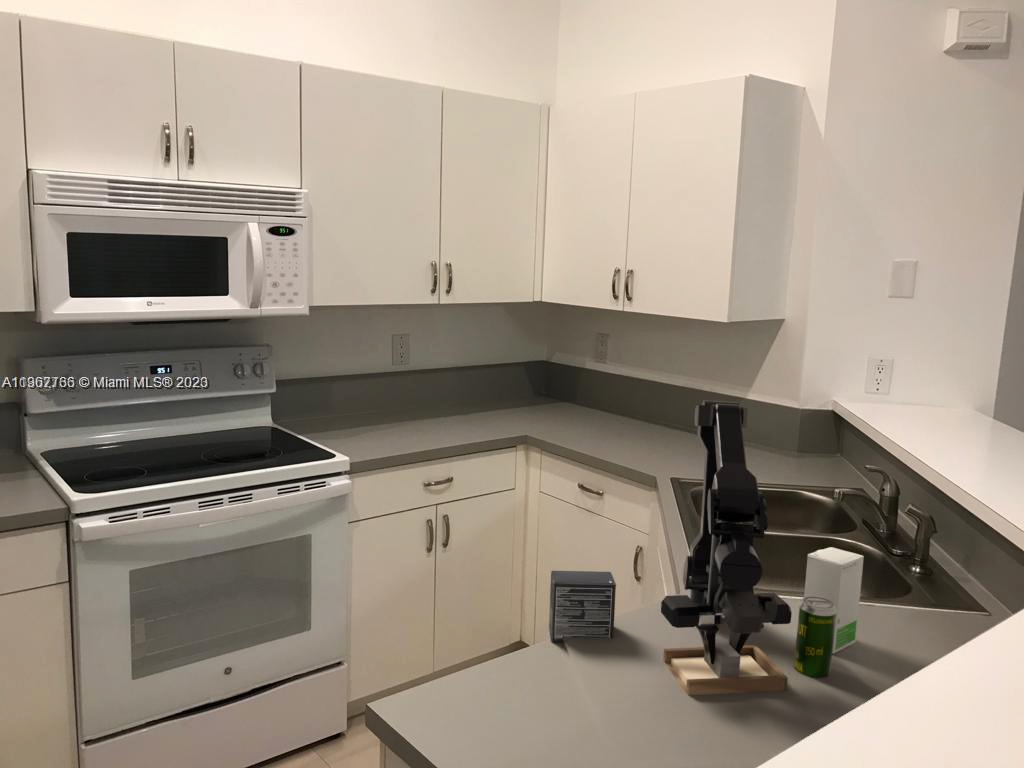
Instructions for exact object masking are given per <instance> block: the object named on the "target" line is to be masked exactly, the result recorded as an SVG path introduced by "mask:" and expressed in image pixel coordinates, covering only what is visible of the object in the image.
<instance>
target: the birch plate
mask: <svg viewBox="0 0 1024 768" xmlns="http://www.w3.org/2000/svg"><path fill="white" fill-rule="evenodd" d="M671 665H672V667H673V668H674V669H675V671H676V672H677V673H678V675H679V676H680V677H681V679H682V680H683V682H684V683H685V684H686V686H687V679H708V678H729V677H750V676H769V675H768V674H767V673H766V672H765V671H764V670H763V669H762V668H761V667H760V666H759V665H758V664H757V663H756V662H755V661H754V659H753V658H752V657H751V656H750V655H739V654H738V653H737V652H736V651H735V650H734V648H733V647H732V646H731V645H730V644H729V641H727V640H726V639H725V638H724V637H723V638H722V637H721V638H720V637H719V638H716V640H715V659H714V664H710V662H709V661H708V657H707V654H706V651H705V655H704V657H692V658H671Z"/></svg>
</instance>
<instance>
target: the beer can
mask: <svg viewBox="0 0 1024 768" xmlns="http://www.w3.org/2000/svg"><path fill="white" fill-rule="evenodd" d="M835 621H836V609H835V603H833V602H832V601H830V600H828V599H825V598H821V597H815V596H808V597H804V596H803V597H802V598H801V603H800V605H799V610H798V621H797V628H796V629H797V630H796V638H795V639H796V640H795V651H794V660H793V661H794V663H793V667H794V670H795V671H796V672H797V673H799V674H800V675H803V676H805V677H808V678H809V677H810V678H816V679H824V678H827V677H829V676H830V674H831V668H832V659H833V658H832V657H833V654H832V650H833V640H834V630H835Z"/></svg>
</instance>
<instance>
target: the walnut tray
mask: <svg viewBox="0 0 1024 768" xmlns="http://www.w3.org/2000/svg"><path fill="white" fill-rule="evenodd" d="M704 655H705V648H704V646H702V647H701V646H700V647H696V646H695V647H676V648H675V647H674V648H671V647H670V648H663V657H662V662H663V663H664V665H665V666H666V667H667V669H668V670H669V671H670V672H671V674H672V675H673V677H674V678H675V680H676V681H677V682H678V683H679V685H680V686H681V688H682V689H683V690H684V692H685V693H686V694H687V696H699V695H700V696H703V695H719V694H720V695H723V694H742V693H745V694H746V693H760V692H761V693H762V692H763V693H764V692H766V693H767V692H783V691H784V692H786V691H788V690H787V688H788V681H789V679H788V676H787V675H786V674H785V673H784V671H782V670H781V669H780V668H779V667H778V666H777V665H776V664H775V663H774V662H773V661H772V660H771V659H770V658H769V657H768V656H767V655H766V654H765V653H764V652H763V651H762V649H760V647H758V646H757V645H756V644H751V645H750V644H749V645H745V644H744V645H743V647H742V649H741V651H740V653H739V655H750V656H751V657H752V658H753V659H754V661H755V662H756V663H757V664H758V665H759V666H760V667H761V668H762V669H763V670H764V671H765V672H766V673H767V674H768V675H769V676H750V677H729V678H708V679H687V686H686V684H685V683H684V682H683V680H682V679H681V677H680V676H679V675H678V673H677V672H676V671H675V669H674V668H673V667H672V665H671V658H692V657H704Z"/></svg>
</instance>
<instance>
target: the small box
mask: <svg viewBox="0 0 1024 768" xmlns="http://www.w3.org/2000/svg"><path fill="white" fill-rule="evenodd" d="M616 588H617V583H616V581H615V578H614V576H613V573H612V572H611V571H595V570H594V571H589V570H588V571H587V570H551V571H550V590H549V591H550V592H549V593H550V595H549V613H548V614H549V617H548V618H549V619H548V631H549V637H550V642H551V643H565V641H564V639H563V638H575V639H578V638H579V639H614V629H615V610H616V608H615V607H616V593H617V591H616ZM561 636H562V637H561Z"/></svg>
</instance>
